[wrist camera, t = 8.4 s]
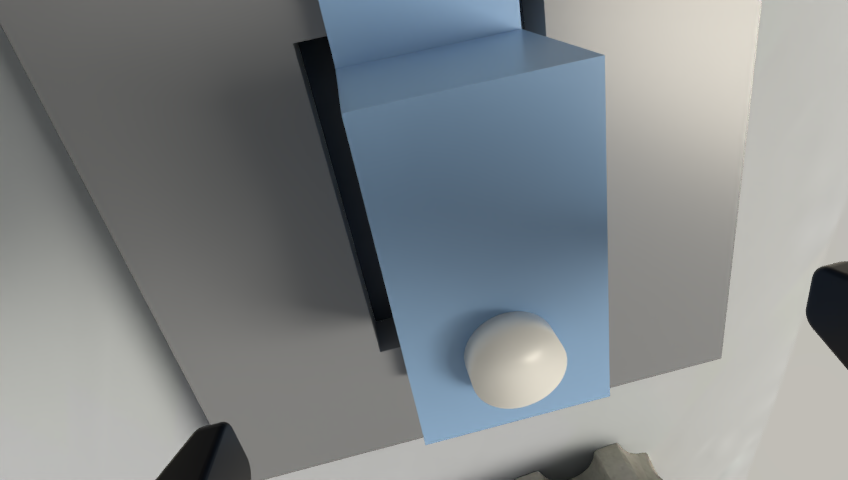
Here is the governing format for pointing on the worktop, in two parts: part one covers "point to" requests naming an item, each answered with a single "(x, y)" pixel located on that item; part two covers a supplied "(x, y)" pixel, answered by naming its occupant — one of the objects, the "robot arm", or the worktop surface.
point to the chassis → (323, 208)
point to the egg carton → (612, 466)
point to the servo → (480, 203)
